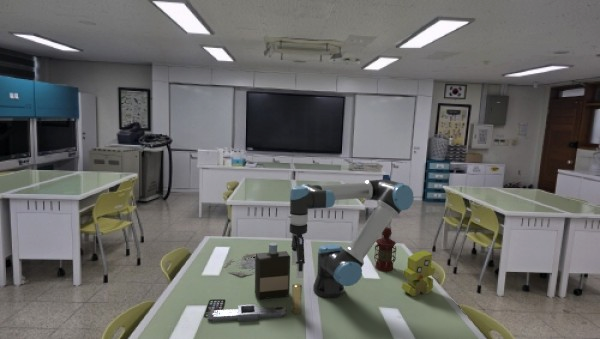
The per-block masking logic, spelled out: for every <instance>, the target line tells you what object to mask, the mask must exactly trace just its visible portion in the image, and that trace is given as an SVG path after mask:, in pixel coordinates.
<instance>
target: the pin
mask: <svg viewBox="0 0 600 339" xmlns="http://www.w3.org/2000/svg"><path fill="white" fill-rule="evenodd" d="M302 288H303V286H302V284H300V283H294V284H292V292H291V313H292V314H293V315H299V314H301V313H302V293H303V292H302Z"/></svg>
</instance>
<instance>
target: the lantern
mask: <svg viewBox="0 0 600 339" xmlns="http://www.w3.org/2000/svg"><path fill="white" fill-rule="evenodd" d="M391 223H392V219H391V220H390V222H389V224H391ZM392 235H393V232H392V227H391V226H389V227H388V226H386V227H385V229H384V230H383V232H382V233H381V238H378V239H377V240H376V245H375V246H374V257H373V258H374V261H375V265H374V268H375V269H376V270H377V271H378V272H379V271H380V272H384V273H390V272H393V271H394V269H395V268H394V263H395V261H396V260H397V257H396V253H397V247H396V244H397V243H396V241H395V240H393V239H391V237H392Z"/></svg>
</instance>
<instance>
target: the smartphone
mask: <svg viewBox="0 0 600 339" xmlns="http://www.w3.org/2000/svg"><path fill="white" fill-rule="evenodd" d="M225 304H226V299H221V298H219V299H215V298H214V299H209V300H208V302H207V306H206V309H205V311H204V313H203V314H204V315H203V318H207V319H208V313H209V312H210V311H213V310H224V309H225Z"/></svg>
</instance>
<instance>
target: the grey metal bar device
mask: <svg viewBox="0 0 600 339" xmlns="http://www.w3.org/2000/svg"><path fill="white" fill-rule="evenodd" d="M286 316H287V308H286V307H284V306H268V307H258V305H257V303H253V304H252V303H251V304H250V303H249V304H238V305H237V308H236V309H235V308H233V309H223V310H213V311H210V312H209V313H208V318H207V320H208V321H210V322H220V321H221V322H222V321H223V322H224V321H238V322H239V323H240V322H253V321H255V322H256V321H258V320H259V319H271V318H272V319H273V318H283V317H286Z"/></svg>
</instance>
